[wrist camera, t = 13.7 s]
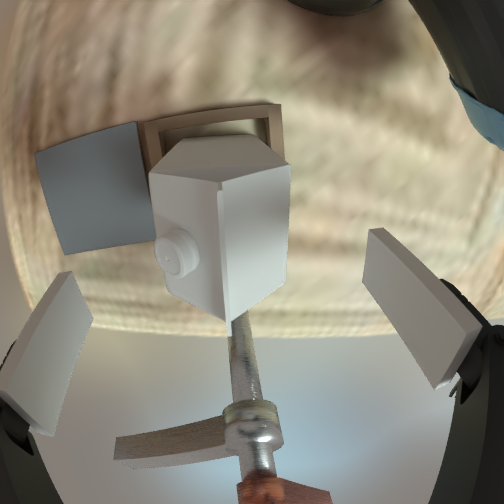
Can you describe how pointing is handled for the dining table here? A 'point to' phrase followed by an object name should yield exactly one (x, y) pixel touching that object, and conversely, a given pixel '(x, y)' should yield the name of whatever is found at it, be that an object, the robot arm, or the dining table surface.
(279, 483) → the signpost
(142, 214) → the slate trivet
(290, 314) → the dining table surface
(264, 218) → the milk carton
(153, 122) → the frame
